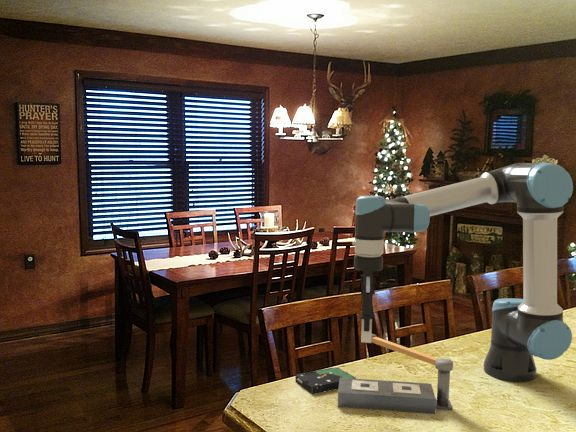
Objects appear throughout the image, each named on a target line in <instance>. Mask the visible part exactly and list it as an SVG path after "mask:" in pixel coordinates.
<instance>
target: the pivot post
mask: <svg viewBox="0 0 576 432" xmlns="http://www.w3.org/2000/svg"><path fill="white" fill-rule="evenodd" d="M450 377H451V371H441V370H438V369H437V389H436V390H437V391H436V407H435V410H439V411H453V405H452V402H451V400H449V399H450Z"/></svg>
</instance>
